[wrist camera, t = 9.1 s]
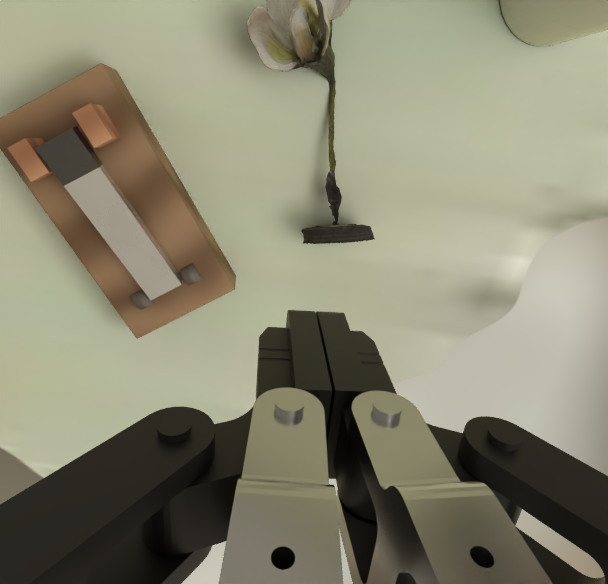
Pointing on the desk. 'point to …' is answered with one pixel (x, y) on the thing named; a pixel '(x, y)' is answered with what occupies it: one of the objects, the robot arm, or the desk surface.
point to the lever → (109, 211)
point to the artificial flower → (315, 54)
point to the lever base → (135, 186)
